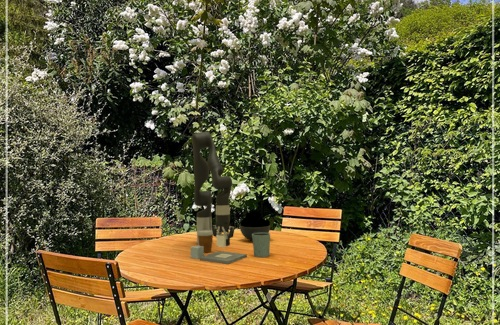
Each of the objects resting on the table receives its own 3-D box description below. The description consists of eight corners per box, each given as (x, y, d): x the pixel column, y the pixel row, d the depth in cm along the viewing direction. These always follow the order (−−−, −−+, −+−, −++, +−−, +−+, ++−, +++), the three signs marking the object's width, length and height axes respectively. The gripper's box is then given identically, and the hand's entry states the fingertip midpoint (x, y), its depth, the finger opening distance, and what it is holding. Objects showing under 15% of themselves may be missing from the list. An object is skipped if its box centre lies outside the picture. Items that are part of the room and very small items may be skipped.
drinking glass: (264, 258, 232) (264, 236, 232) (248, 256, 237) (248, 234, 237) (273, 254, 240) (273, 233, 240) (258, 252, 246) (257, 231, 246)
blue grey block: (196, 256, 239) (196, 245, 239) (203, 257, 236) (203, 246, 236) (190, 258, 235) (190, 247, 235) (197, 259, 232) (197, 248, 232)
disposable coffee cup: (216, 250, 253) (216, 230, 253) (209, 254, 244) (209, 232, 244) (201, 249, 256) (201, 229, 256) (194, 253, 247) (194, 232, 247)
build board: (219, 253, 245) (219, 250, 245) (246, 257, 235) (246, 254, 235) (199, 260, 230) (199, 257, 230) (227, 264, 220) (227, 261, 220)
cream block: (222, 244, 236) (221, 233, 236) (229, 245, 233) (229, 234, 233) (216, 246, 231) (216, 235, 231) (224, 247, 229) (224, 235, 229)
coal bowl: (263, 237, 295) (263, 209, 294) (275, 242, 276) (275, 212, 276) (235, 239, 288) (235, 210, 287) (245, 244, 269) (245, 214, 269)
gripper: (237, 213, 232) (238, 245, 232) (216, 212, 239) (216, 242, 239) (229, 215, 225) (230, 247, 225) (207, 213, 233) (208, 245, 233)
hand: (223, 245), depth 232 cm, fingers closed on cream block, 5 cm apart
